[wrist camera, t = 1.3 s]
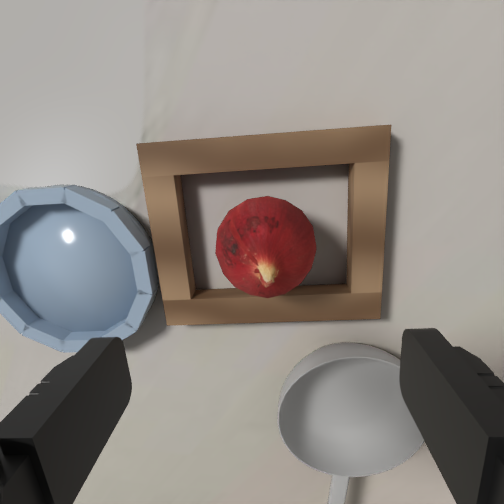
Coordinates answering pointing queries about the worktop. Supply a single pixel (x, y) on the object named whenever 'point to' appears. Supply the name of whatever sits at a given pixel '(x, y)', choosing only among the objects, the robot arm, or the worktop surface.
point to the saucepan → (347, 414)
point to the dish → (73, 266)
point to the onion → (265, 246)
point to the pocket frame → (270, 157)
